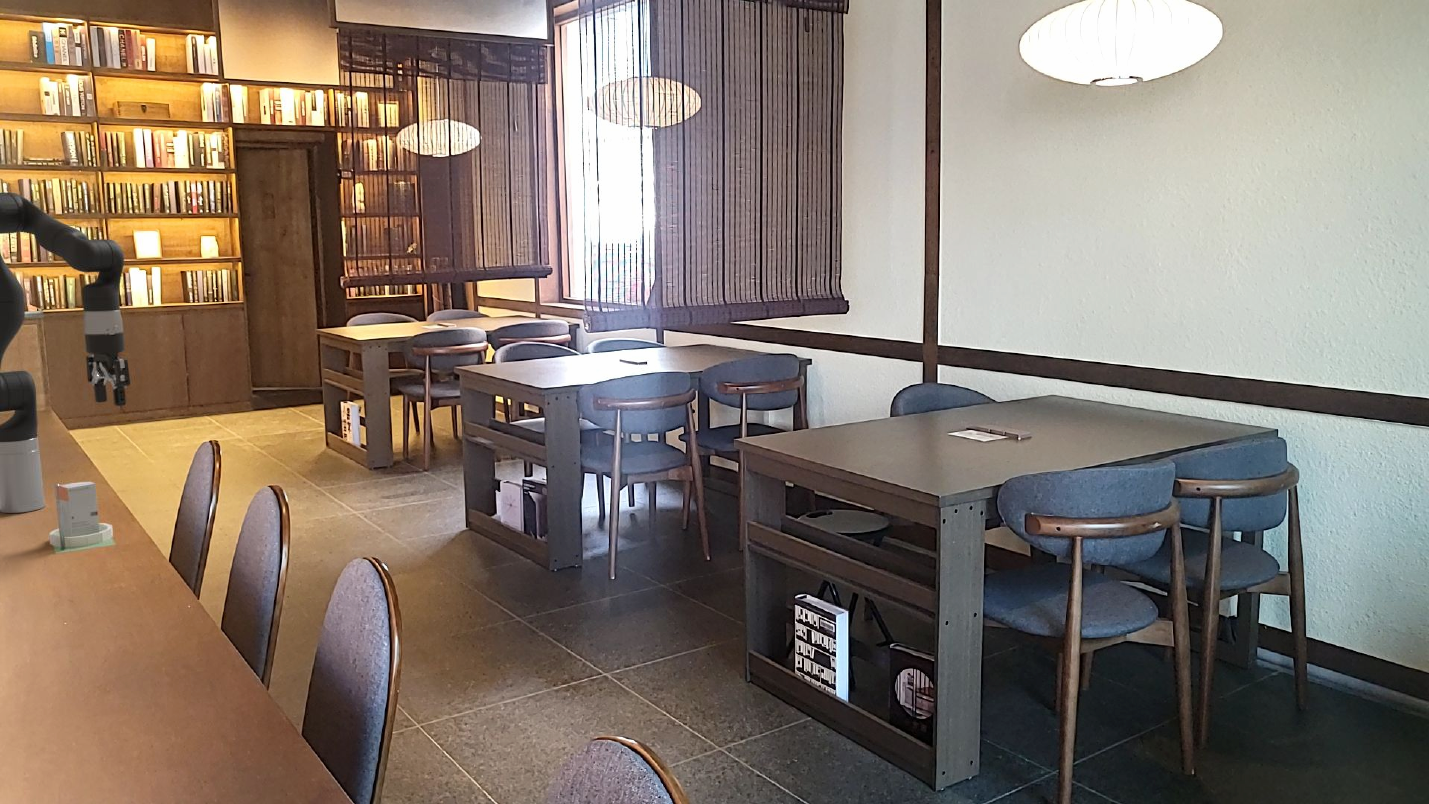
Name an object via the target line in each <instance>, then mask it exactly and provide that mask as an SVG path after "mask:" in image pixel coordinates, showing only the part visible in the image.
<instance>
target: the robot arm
mask: <svg viewBox="0 0 1429 804" xmlns="http://www.w3.org/2000/svg"><path fill="white" fill-rule="evenodd" d="M16 233H25V234H30V235H33V236H34V238H35V240H36V242H37V244H38V245H39V246H40V247H41V248H42V249H44V250H45V251H47V252H50V253H52V254H53V255H55V256H58V257H60V258H62V259H63V260H64V261H65V262H66V263H67V264H68V265H69V267H71V268H72V269H73V270H76V271H78V272H81V273H98V275H97V277H96V280H94V282H93V281H92V282H91V283H88V284H85V285H83V287H82V288H81V296H82V297H81V300H82V308H83V322H82V323H83V332H84V341H85V344H84V345H85V351H86V353H87V354H89V355H86V357H85V361H86V362H85V363H86V374H87V375H86V377H87V382H88V383H91V385H92V386H93V389H94V399H95V402H96V403H105V402H107V401H108V397H107V395H108V394H107V386H106V383H107V382H109V383H110V384H111V387H112V388H113V389H112V395H113V402H114V403H113V405H114V406H116V407H119V406H121V407H122V406H125V405H126V403H127V400H126V391H125V390H126V388H127V387H129V386H131V378H130V372H129V370H130V369H129V363H128V359H127V358H120V356H119V354H120V353H123V352H125V350H126V348H125V335H124V326H123V325H124V323H123V318H122V314H121V307H120V297H119V289H120V285H121V280H122V274H123V269H124V263H125V257H124V251H123V249H122V247H121V246H120V245H119V243H118V242H117V241H115V240H113V239H109V238H108V239H107V238H105V239H89V238H88V236H87V235H86V234H85V233H84V232H83V231H82V230H79V229H77V228H75V227H72V226H70V225H68V224H66V223H64V222H61V221H59V220H57V219H56V218H54V217H52V216H50V215H49V214H48V213H46V212H45V211H44V210H42V209H40V208H39V207H38V206H37V205H35V204H34V203H32V202H31V201H30V200H29V199H27V198H25V197H24V196H23V195H21V194H18V193H15V192H0V234H4V235H5V234H16ZM25 306H26V305H25V293H24V289H23V286H22V285H21V283H20V282H19V279H18V278H17V277H16V276H15V274H14V273H13V272H12V270H11V269H10V268H9V266H8V265H7V263H6V262H5V261H4V258H3V256H2V253H1V252H0V369H1V366H2V362H3V358H4V355H5V353H6V350H7V349H8V347H9V346H10V344H11V343H12V341H13V340H14V338H15V337H16V335H17V334H18V332H19V331H20V329H21V327H22V326H23V324H24V320H25V318H26V316H25V315H26V311H25V308H26V307H25ZM36 388H37V387H36V384H35V380H34V377H33V376H32V375H31V373H29V372H28V370H27V371H26V370H16V371H15V370H14V371H13V370H12V371H4V372H2V371H1V372H0V413H3V412H13V411H14V413H13V415H12V416H11V417H10V418H8V420H7V421H4V422H2V423H1V424H0V513H5V514H19V513H25V512H26V513H27V512H33V511H36V510H40V509H43V508H44V507H46V503H45V502H46V501H45V493H44V491H45V490H44V484H43V481H44V480H43V474H42V465H41V456H40V455H41V454H40V446H39V445H40V443H39V437H38V436H39V435H38V424H39V423H38V407H37V390H36Z"/></svg>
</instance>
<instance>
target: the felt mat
mask: <svg viewBox="0 0 1429 804" xmlns="http://www.w3.org/2000/svg"><path fill="white" fill-rule="evenodd" d="M52 546H53V545H52ZM110 546H116V543H115V541H114V538H113V537H112V538H110V539H108V540H106V541H103V542H100V543H95V544H91V545H86V546H76V547H65V548H66V550H61V547H56V546H53V550H54V553H55V554H64V553H70V552H71V553H72V552H77V551H83V550H90V549H97V548H102V547H103V548H105V547H110Z"/></svg>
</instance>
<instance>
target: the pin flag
mask: <svg viewBox="0 0 1429 804" xmlns="http://www.w3.org/2000/svg"><path fill="white" fill-rule="evenodd" d="M53 485H54V495H55V504H56V505H55V506H56V512H57V514H56V515H57V522H58V523H57V524H58V529H59V534H60V543H61V550H66V548H65V539H64V529H63V519H62V510H61V500H64V501H67V502H68V501H69V498H68V489H67V488H66V487H62V486H59V485H60V484H59V483H55V484H53Z"/></svg>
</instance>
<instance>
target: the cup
mask: <svg viewBox="0 0 1429 804" xmlns="http://www.w3.org/2000/svg"><path fill="white" fill-rule="evenodd" d="M113 531H114V530H113V525H112V524H110V523H105V522H99V533H94V534H89V535H84V536H75V537H64V539H65V547H76V546H86V545H91V544H95V543H100V542H103V541H106V540H108V539H110V538H112V539H113V535H114V532H113ZM48 539H49V545H50V546H56V547H61V543H60V534H59V528H57V529H54V530H51V531H50V533H49V534H48Z"/></svg>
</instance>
